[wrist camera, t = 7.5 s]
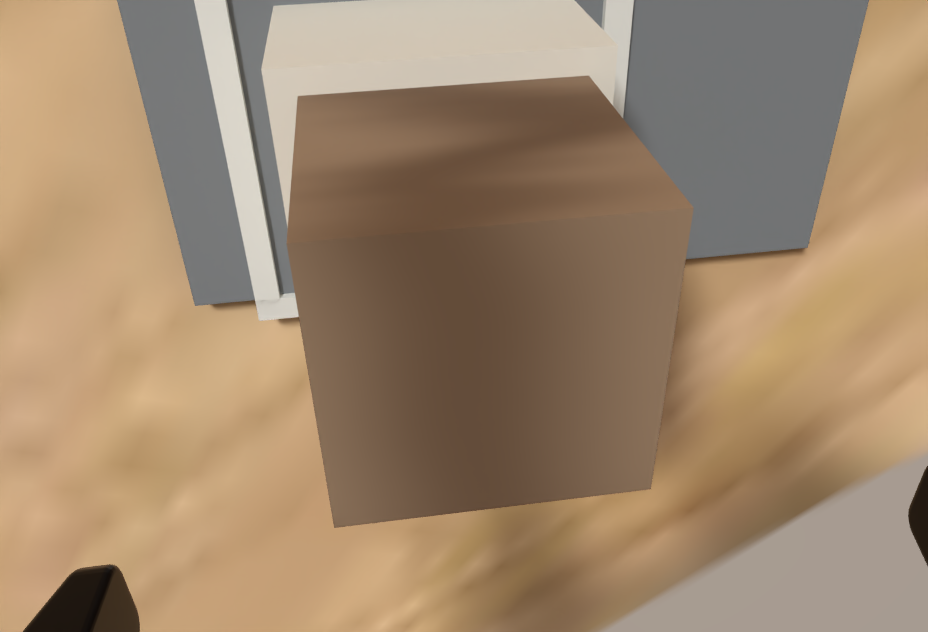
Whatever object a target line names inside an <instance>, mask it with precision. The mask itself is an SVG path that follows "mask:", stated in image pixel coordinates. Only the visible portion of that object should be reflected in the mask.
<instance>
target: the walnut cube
mask: <svg viewBox="0 0 928 632" xmlns="http://www.w3.org/2000/svg"><path fill="white" fill-rule="evenodd" d="M693 209H694V208H693V206H692V205H691V204H690V202H689V201H688V200H687V199H686V197H685V196H684V195H683V194H682V192H681V191H680V190H679V189H678V187H677V186H676V185H675V184H674V182H673V181H672V180H671V179H670V177H669V176H668V175H667V173H666V172H665V171H664V170H663V168H662V167H661V166H660V165H659V163H658V162H657V161H656V160H655V158H654V157H653V156H652V155H651V153H650V152H649V151H648V149H647V148H646V147H645V146H644V144H643V143H642V142H641V141H640V139H639V138H638V137H637V136H636V134H635V133H634V132H633V131H632V129H631V128H630V127H629V126H628V124H627V123H626V122H625V120H624V119H623V118H622V117H621V115H620V114H619V113H618V112H617V110H616V109H615V108H614V107H613V105H612V104H611V103H610V102H609V100H608V99H607V98H606V96H605V95H604V94H603V93H602V91H601V90H600V89H599V88H598V86H597V85H596V84H595V83H594V81H593V80H592V79H591V78H590V76H575V77H560V78H546V79H532V80H518V81H503V82H489V83H475V84H461V85H446V86H432V87H418V88H404V89H389V90H375V91H361V92H347V93H332V94H318V95H304V96H298V97H297V110H296V124H295V137H294V150H293V164H292V177H291V190H290V203H289V217H288V230H287V243H286V244H287V250H288V256H289V262H290V267H291V273H292V279H293V285H294V291H295V297H296V303H297V309H298V315H299V321H300V327H301V333H302V339H303V345H304V351H305V357H306V363H307V369H308V375H309V380H310V386H311V392H312V398H313V404H314V410H315V416H316V422H317V428H318V434H319V440H320V446H321V452H322V458H323V464H324V470H325V476H326V482H327V488H328V494H329V499H330V505H331V511H332V517H333V523H334V528H337V527H345V526H353V525H361V524H369V523H378V522H386V521H394V520H402V519H410V518H418V517H427V516H435V515H443V514H451V513H459V512H467V511H476V510H484V509H492V508H500V507H508V506H517V505H525V504H533V503H541V502H549V501H557V500H566V499H574V498H582V497H590V496H598V495H606V494H615V493H623V492H631V491H639V490H647V489H651V484H652V478H653V471H654V464H655V458H656V451H657V445H658V438H659V432H660V425H661V419H662V412H663V405H664V399H665V392H666V386H667V379H668V373H669V366H670V360H671V353H672V347H673V340H674V333H675V327H676V320H677V314H678V307H679V301H680V294H681V288H682V281H683V274H684V268H685V261H686V255H687V248H688V242H689V235H690V229H691V222H692V216H693Z"/></svg>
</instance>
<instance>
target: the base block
mask: <svg viewBox="0 0 928 632" xmlns="http://www.w3.org/2000/svg"><path fill="white" fill-rule="evenodd" d="M617 51H618V45H617V44H616V43H615V42H614V41H613V40H612V39H611V38H610V37H609V35H608V34H607V33H606V32H605V31H604V30H603V29H602V28H601V27H600V26H599V25H598V24H597V23H596V22H595V21H594V20H593V19H592V18H591V17H590V16H589V15H588V14H587V13H586V12H585V11H584V10H583V9H582V8H581V7H580V6H579V4H578V3H577V2H576V1H575V0H361V1H345V2H328V3H312V4H295V5H279V6H273V11H272V16H271V21H270V26H269V32H268V37H267V42H266V47H265V52H264V58H263V63H262V68H261V71H262V77H263V83H264V89H265V95H266V101H267V107H268V113H269V119H270V125H271V131H272V137H273V143H274V149H275V155H276V161H277V167H278V173H279V179H280V185H281V191H282V197H283V203H284V209H285V215H286V221H287V228H288V217H289V203H290V190H291V177H292V164H293V150H294V137H295V124H296V110H297V97H298V96H304V95H318V94H332V93H347V92H361V91H375V90H389V89H404V88H418V87H432V86H446V85H461V84H475V83H489V82H503V81H518V80H532V79H546V78H560V77H575V76H590V78H591V79H592V80H593V81H594V83H595V84H596V85H597V86H598V88H599V89H600V90H601V91H602V93H603V94H604V95H605V96H606V98H607V99H608V100H609V102H610V103H611V104H612V105H613V100H614V88H615V75H616V63H617Z"/></svg>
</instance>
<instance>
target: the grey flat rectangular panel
mask: <svg viewBox="0 0 928 632" xmlns="http://www.w3.org/2000/svg"><path fill="white" fill-rule="evenodd" d="M345 1H361V0H117V2H118V6H119V10H120V13H121V17H122V21H123V25H124V29H125V33H126V37H127V41H128V45H129V49H130V53H131V57H132V61H133V64H134V68H135V72H136V76H137V80H138V84H139V88H140V92H141V96H142V100H143V104H144V108H145V111H146V115H147V119H148V123H149V127H150V131H151V135H152V139H153V143H154V147H155V151H156V155H157V159H158V162H159V166H160V170H161V174H162V178H163V182H164V186H165V190H166V194H167V198H168V202H169V206H170V210H171V213H172V217H173V221H174V225H175V229H176V233H177V237H178V241H179V245H180V249H181V253H182V257H183V261H184V264H185V268H186V272H187V276H188V280H189V284H190V288H191V292H192V296H193V300H194V304H195V306H198V305H208V304H219V303H229V302H240V301H250V300H255V302H256V307H257V312H258V317H259V321H263V320H273V319H283V318H293V317H299V315H298V309H297V303H296V297H295V291H294V285H293V279H292V273H291V267H290V262H289V256H288V250H287V244H286V243H287V230H288V228H287V221H286V215H285V209H284V203H283V197H282V191H281V185H280V179H279V173H278V167H277V161H276V155H275V149H274V143H273V137H272V131H271V125H270V119H269V113H268V107H267V101H266V95H265V89H264V83H263V77H262V71H261V68H262V63H263V58H264V52H265V47H266V42H267V37H268V32H269V26H270V21H271V16H272V11H273V6H279V5H295V4H312V3H328V2H345ZM575 1H576V2H577V3H578V4H579V6H580V7H581V8H582V9H583V10H584V11H585V12H586V13H587V14H588V15H589V16H590V17H591V18H592V19H593V20H594V21H595V22H596V23H597V24H598V25H599V26H600V27H601V28H602V29H603V30H604V31H605V32H606V33H607V34H608V35H609V37H610V38H611V39H612V40H613V41H614V42H615V43H616V44H617V45H618V51H617V63H616V75H615V88H614V100H613V107H614V108H615V109H616V110H617V112H618V113H619V114H620V115H621V117H622V118H623V119H624V120H625V122H626V123H627V124H628V126H629V127H630V128H631V129H632V131H633V132H634V133H635V134H636V136H637V137H638V138H639V139H640V141H641V142H642V143H643V144H644V146H645V147H646V148H647V149H648V151H649V152H650V153H651V155H652V156H653V157H654V158H655V160H656V161H657V162H658V163H659V165H660V166H661V167H662V168H663V170H664V171H665V172H666V173H667V175H668V176H669V177H670V179H671V180H672V181H673V182H674V184H675V185H676V186H677V187H678V189H679V190H680V191H681V192H682V194H683V195H684V196H685V197H686V199H687V200H688V201H689V202H690V204H691V205H692V206H693V208H694V209H693V216H692V222H691V229H690V235H689V242H688V248H687V255H686V259H693V258H703V257H714V256H724V255H735V254H746V253H756V252H767V251H777V250H788V249H798V248H808V244H809V240H810V236H811V232H812V228H813V224H814V220H815V216H816V212H817V208H818V204H819V200H820V195H821V191H822V187H823V183H824V179H825V175H826V171H827V167H828V163H829V159H830V155H831V151H832V147H833V143H834V139H835V135H836V131H837V127H838V123H839V119H840V115H841V111H842V107H843V103H844V99H845V95H846V91H847V86H848V82H849V78H850V74H851V70H852V66H853V62H854V58H855V54H856V50H857V46H858V42H859V38H860V34H861V30H862V26H863V22H864V18H865V14H866V10H867V6H868V2H869V0H575Z"/></svg>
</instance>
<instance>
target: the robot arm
mask: <svg viewBox="0 0 928 632" xmlns="http://www.w3.org/2000/svg"><path fill="white" fill-rule="evenodd" d="M908 517H909V524H910V528H911V531H912V533H913V535H914V537H915V540H916V542H917V544H918V546H919V548H920V550H921V553H922V555H923V557H924V559H925V561H926V563H927V565H928V466H927V467H926V469H925V471H924V473H923V476H922V478H921V481H920V483H919V485H918V488H917V490H916V493H915V495H914V498H913V500H912V503H911V505H910V508H909V515H908ZM23 632H140V623H139V616H138V612H137V609H136V606H135V604H134V601H133V599H132V596H131V594H130V592H129V589H128V587H127V584H126V582H125V579H124V577H123V574H122V572H121V571H120V569H119V568H118V567H117V566H115V565H110V564H109V565H101V566H93V567H85V568H80V569H77V570H75V571H74V572H73V573H71V574H70V575H69V576H68V577H67V579H66V580H65V581H64V582H63V583H62V585H61V586H60V587H59V588H58V589H57V591H56V592H55V593H54V594H53V596H52V597H51V598H50V599H49V600H48V602H47V603H46V604H45V605H44V606H43V608H42V609H41V610H40V611H39V612H38V614H37V615H36V616H35V617H34V618H33V620H32V621H31V622H30V623H29V625H28V626H27V627H26V628H25V629H24V631H23Z"/></svg>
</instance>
